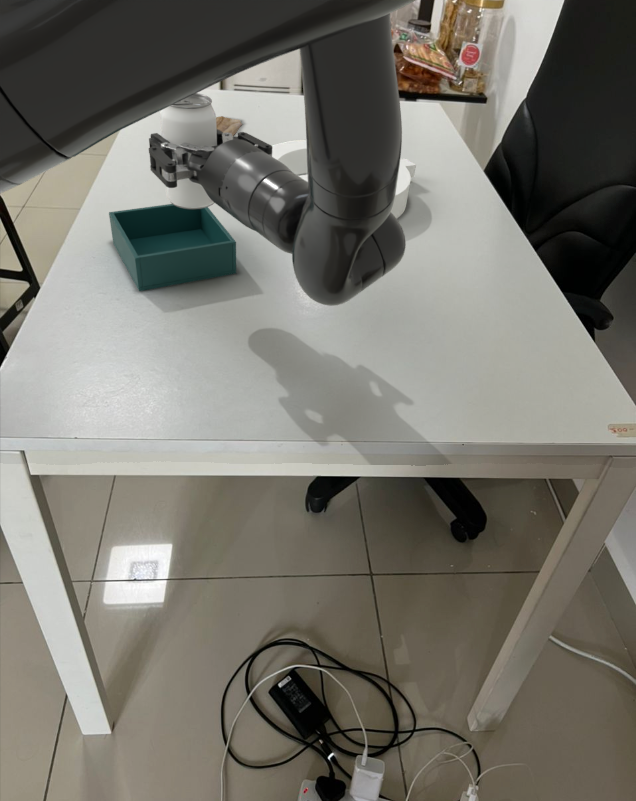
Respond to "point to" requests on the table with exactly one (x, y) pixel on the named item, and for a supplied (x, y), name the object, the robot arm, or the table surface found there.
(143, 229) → the teal open storage bin
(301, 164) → the ring with crossbar
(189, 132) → the can
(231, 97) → the table surface
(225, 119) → the fish fossil
